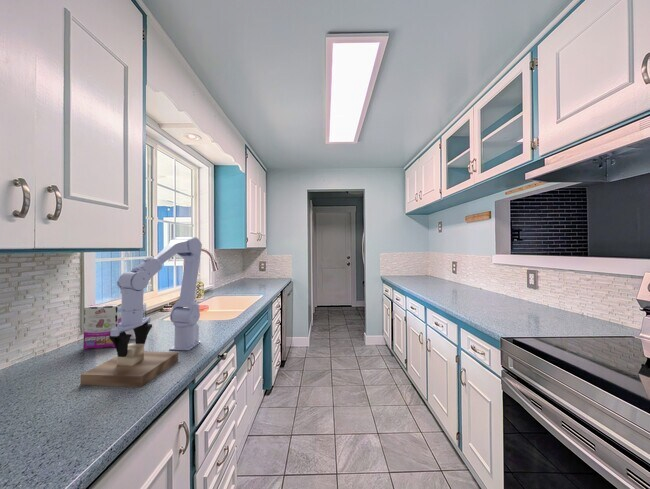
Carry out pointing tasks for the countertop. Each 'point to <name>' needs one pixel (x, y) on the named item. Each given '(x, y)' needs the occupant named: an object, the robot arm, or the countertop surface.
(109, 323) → the candy bar box
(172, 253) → the robot arm
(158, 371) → the walnut plinth
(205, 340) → the countertop surface
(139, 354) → the birch cube
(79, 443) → the countertop surface
